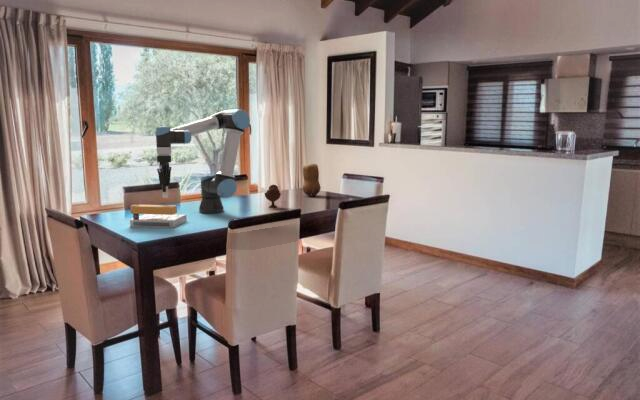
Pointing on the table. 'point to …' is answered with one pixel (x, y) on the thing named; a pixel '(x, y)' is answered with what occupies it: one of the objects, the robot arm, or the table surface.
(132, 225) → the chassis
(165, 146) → the robot arm
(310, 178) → the butternut squash
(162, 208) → the long orange block
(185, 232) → the table surface
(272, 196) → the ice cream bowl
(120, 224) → the table surface
